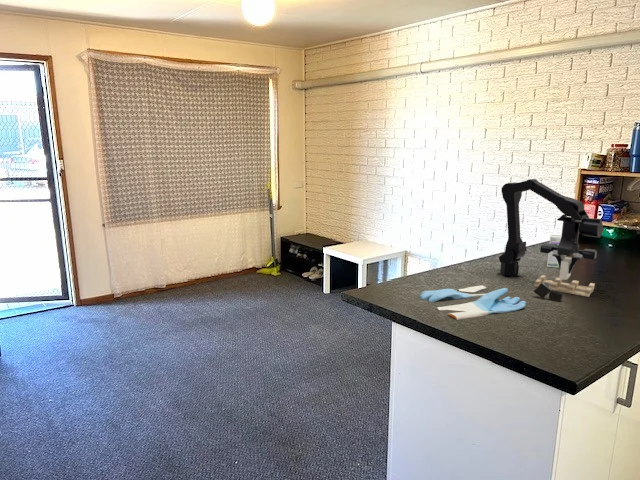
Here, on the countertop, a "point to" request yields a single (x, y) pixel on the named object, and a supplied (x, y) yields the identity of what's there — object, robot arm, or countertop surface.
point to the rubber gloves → (474, 302)
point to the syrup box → (552, 259)
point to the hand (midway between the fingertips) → (565, 272)
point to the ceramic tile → (565, 268)
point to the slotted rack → (566, 286)
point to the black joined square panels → (544, 290)
